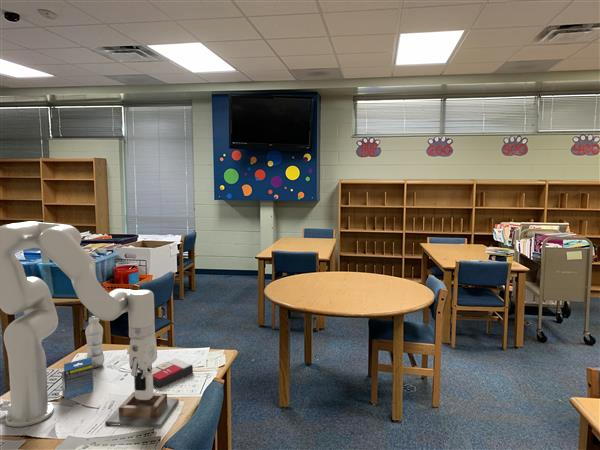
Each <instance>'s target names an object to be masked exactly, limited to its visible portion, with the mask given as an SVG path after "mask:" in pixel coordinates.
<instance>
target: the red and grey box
mask: <svg viewBox="0 0 600 450" xmlns="http://www.w3.org/2000/svg"><path fill="white" fill-rule="evenodd" d="M193 367H194V366H193V364H190V363H188V362H186V361H183V360H180V359H178V358H172V359H170V360H167V361H164V362H162V363H159V364H158V365H155V366H152V370H151V371H152V375H153V387H155V388H157V389H162V388H164V387H166V386H168V385H171V384H173V383H176V382H177V381H178V380H181V379H183V378H186V377H189V376H191V375H193V374H194V370H193Z"/></svg>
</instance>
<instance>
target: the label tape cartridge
mask: <svg viewBox="0 0 600 450" xmlns="http://www.w3.org/2000/svg"><path fill="white" fill-rule="evenodd" d="M86 358H87V357H86ZM86 358H83V359H78V360H75V361H70V362H68V363H63V370H64V371H62V372H61V387H62V388H61V389H62V390H61V391H62V392H61V394H62V397H63V398H64V399H65V400H67V399H70V397H71V398H73V397H72V396H74V397H76V396H75V395H77V396H79V395H78V394H80V395H84V394H86V392H87V393H90V392H93V391H94V371H93V368H92V357H90V358H87V359H86ZM92 390H93V391H92Z"/></svg>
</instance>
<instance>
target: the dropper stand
mask: <svg viewBox="0 0 600 450" xmlns="http://www.w3.org/2000/svg"><path fill="white" fill-rule="evenodd" d="M178 403H179V398H176V397H175V398H171V397H168V393H157V392H153V397H152V398H151V399H149V400H139V399H136V398H135V391H134V392H133V391H132V393H130V395H129V396H128V397H127V398H126V399H125V400H124V401H123V402H122V403H121V404H120V405H119V407H118V408H116V409H115V410H114V412H113V413H112V414H111V415H109V417H108V418H106V420H105V422H104V425H105V424H120V425H119V426H123V425H127V426H128V427H143V428H144V427H145V428H147V427H148V428H161V427H162V426H163V424H164V423H165V422H166V420H167V419H168V418H169V416H170V415H171V413H172V412H173V411H174V409H175V407H176V406H177V404H178Z"/></svg>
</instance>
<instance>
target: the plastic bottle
mask: <svg viewBox="0 0 600 450" xmlns="http://www.w3.org/2000/svg"><path fill="white" fill-rule="evenodd" d="M99 322H100V319H99V318H97V317H96V316H95V315H92V316H90V317H88V325H87V326H86V328H85V331H84V333H85V338H86V346H87V347H86V348H87V351H86V358H85V359H87V358H90V357H92V369H95V368H98V367H99V368H100V367H102V366H103V364H104V363H105V356H104V355H105V354H104V350H103V349H104V348H103V335H104V328H103V326H102V325H101V323H99Z"/></svg>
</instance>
